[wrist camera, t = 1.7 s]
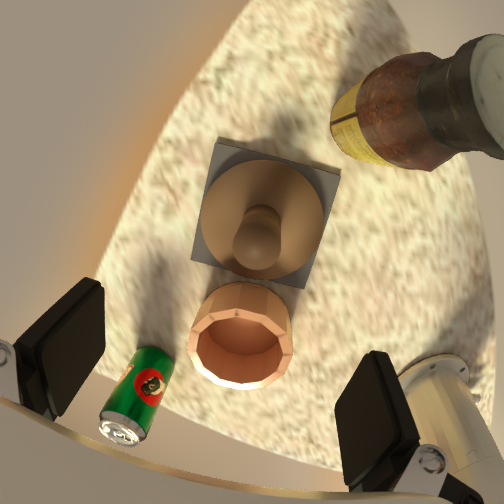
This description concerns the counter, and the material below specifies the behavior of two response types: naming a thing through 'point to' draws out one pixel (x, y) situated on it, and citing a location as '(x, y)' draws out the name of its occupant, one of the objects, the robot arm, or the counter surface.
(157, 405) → the soda can
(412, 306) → the counter surface
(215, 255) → the lid
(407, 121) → the sauce bottle
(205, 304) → the bowl
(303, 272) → the mat
